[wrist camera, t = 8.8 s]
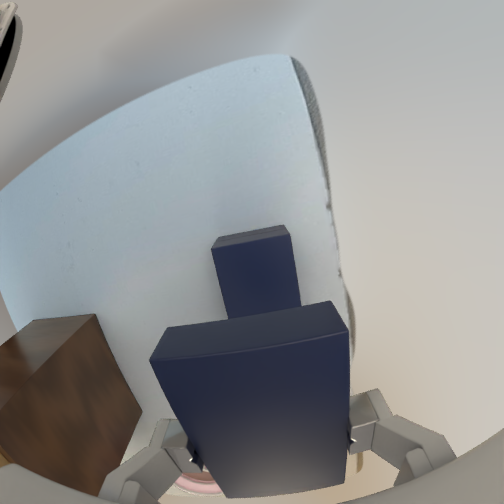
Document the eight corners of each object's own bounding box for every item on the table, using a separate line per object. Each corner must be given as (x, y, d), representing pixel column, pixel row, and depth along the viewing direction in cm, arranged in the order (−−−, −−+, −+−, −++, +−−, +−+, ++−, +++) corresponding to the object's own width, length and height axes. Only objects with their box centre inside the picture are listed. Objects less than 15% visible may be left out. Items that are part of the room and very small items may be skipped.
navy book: (166, 326, 9) (147, 359, 7) (331, 299, 9) (349, 329, 7) (229, 468, 11) (226, 498, 9) (336, 454, 11) (344, 483, 9)
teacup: (242, 472, 32) (241, 505, 26) (162, 459, 31) (153, 490, 25) (256, 428, 29) (256, 467, 23) (157, 411, 28) (144, 448, 22)
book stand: (33, 319, 26) (-59, 398, 8) (95, 313, 25) (-15, 427, 8) (79, 406, 29) (24, 495, 12) (142, 411, 29) (95, 528, 11)
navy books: (218, 237, 23) (210, 248, 19) (283, 224, 23) (290, 233, 19) (240, 331, 25) (238, 356, 22) (299, 321, 25) (306, 344, 21)
